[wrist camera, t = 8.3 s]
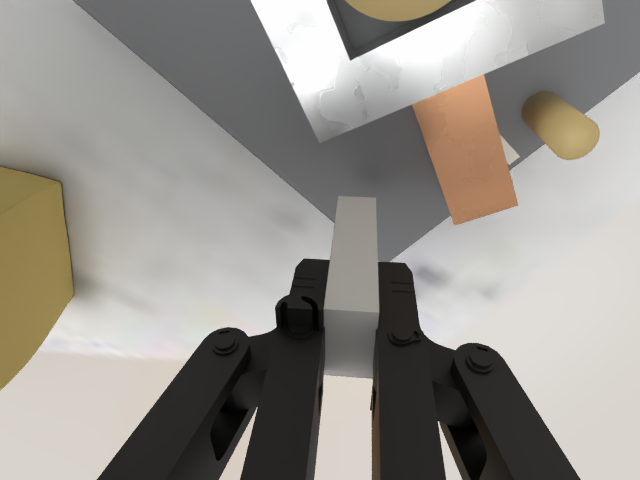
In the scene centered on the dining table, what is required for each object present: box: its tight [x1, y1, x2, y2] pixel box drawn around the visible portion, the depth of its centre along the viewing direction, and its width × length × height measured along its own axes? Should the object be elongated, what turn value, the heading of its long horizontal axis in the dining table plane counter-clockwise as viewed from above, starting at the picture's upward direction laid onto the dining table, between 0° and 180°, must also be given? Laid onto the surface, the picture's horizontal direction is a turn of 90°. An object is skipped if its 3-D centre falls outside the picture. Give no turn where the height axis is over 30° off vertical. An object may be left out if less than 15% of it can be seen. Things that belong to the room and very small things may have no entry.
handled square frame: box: [251, 0, 605, 225], centre depth 16 cm, size 17×11×2 cm, turn 25°
